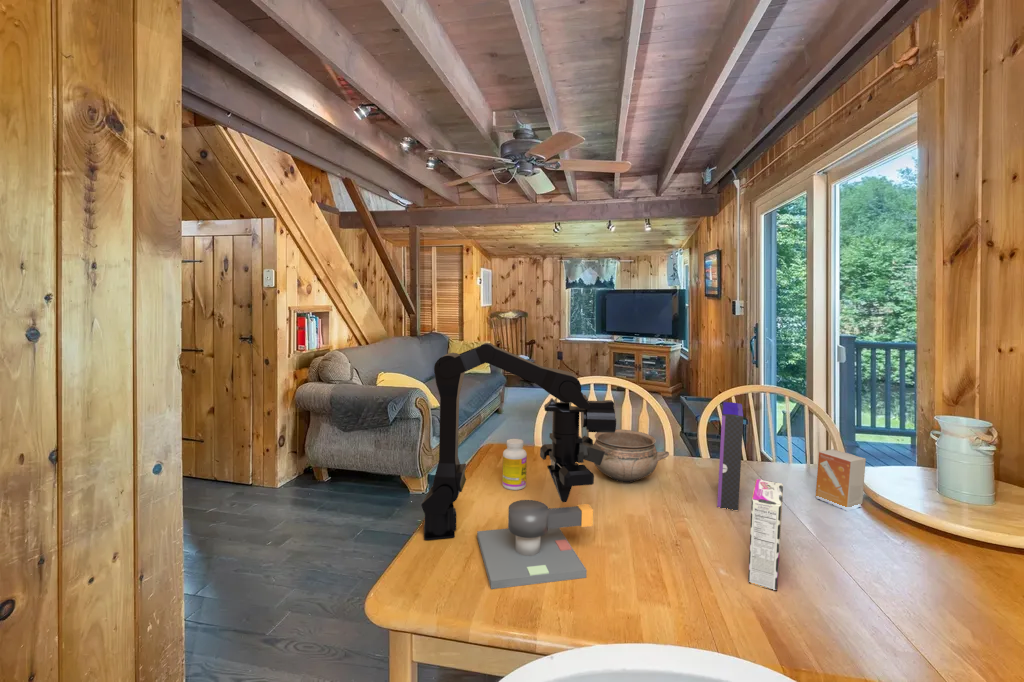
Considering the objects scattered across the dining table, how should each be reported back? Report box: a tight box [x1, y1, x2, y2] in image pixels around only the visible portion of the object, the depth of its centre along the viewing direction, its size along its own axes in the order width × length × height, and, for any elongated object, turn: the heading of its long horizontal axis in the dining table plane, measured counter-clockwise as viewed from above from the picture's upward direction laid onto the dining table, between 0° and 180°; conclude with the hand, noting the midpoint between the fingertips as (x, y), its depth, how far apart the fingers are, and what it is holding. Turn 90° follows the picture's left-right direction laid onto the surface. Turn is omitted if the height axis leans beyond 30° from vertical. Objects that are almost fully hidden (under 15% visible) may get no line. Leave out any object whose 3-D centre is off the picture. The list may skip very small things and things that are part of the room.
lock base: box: [476, 527, 588, 590], centre depth 91 cm, size 18×18×6 cm
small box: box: [815, 449, 867, 507], centre depth 117 cm, size 8×6×13 cm
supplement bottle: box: [502, 438, 528, 491], centre depth 126 cm, size 7×7×13 cm
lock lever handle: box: [507, 499, 594, 538], centre depth 91 cm, size 17×8×4 cm, turn 102°
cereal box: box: [716, 401, 744, 511], centre depth 120 cm, size 17×5×24 cm, turn 154°
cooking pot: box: [593, 428, 670, 484], centre depth 133 cm, size 25×19×12 cm
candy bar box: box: [747, 478, 784, 591], centre depth 86 cm, size 11×5×16 cm, turn 148°
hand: (563, 501), depth 98 cm, fingers closed
